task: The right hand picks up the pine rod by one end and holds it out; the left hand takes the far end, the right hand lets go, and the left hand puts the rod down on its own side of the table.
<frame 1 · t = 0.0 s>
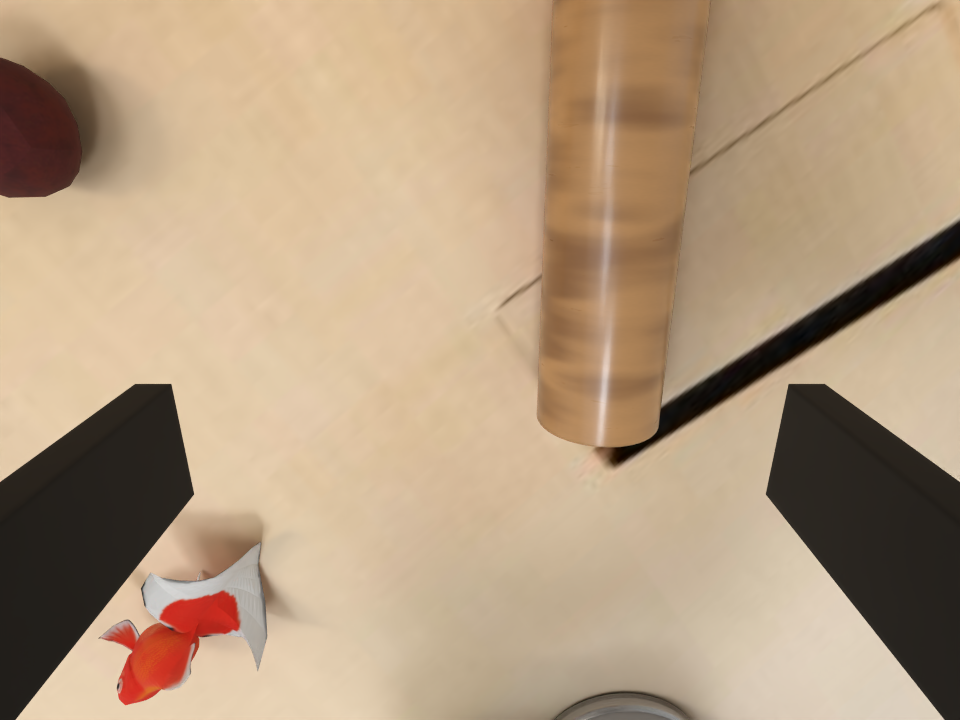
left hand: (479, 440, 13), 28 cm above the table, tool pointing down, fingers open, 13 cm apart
dark maroon ball: (49, 131, 37), on the table
rod: (599, 207, 38), on the table
fish: (211, 583, 49), on the table
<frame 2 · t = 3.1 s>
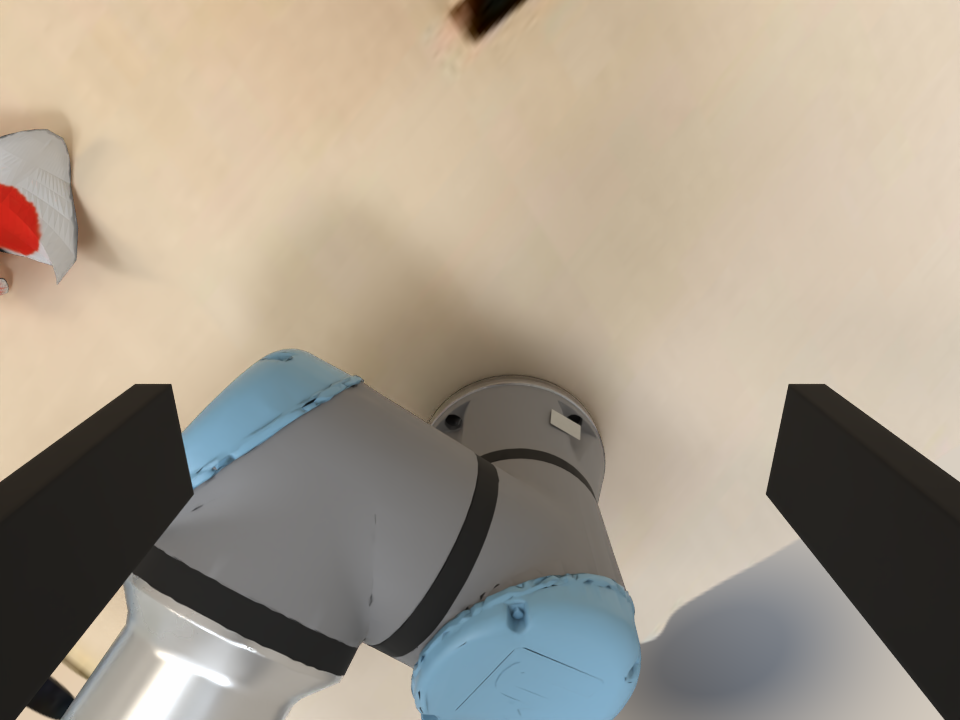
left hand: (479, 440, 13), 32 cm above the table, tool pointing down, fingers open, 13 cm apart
fish: (20, 216, 43), on the table
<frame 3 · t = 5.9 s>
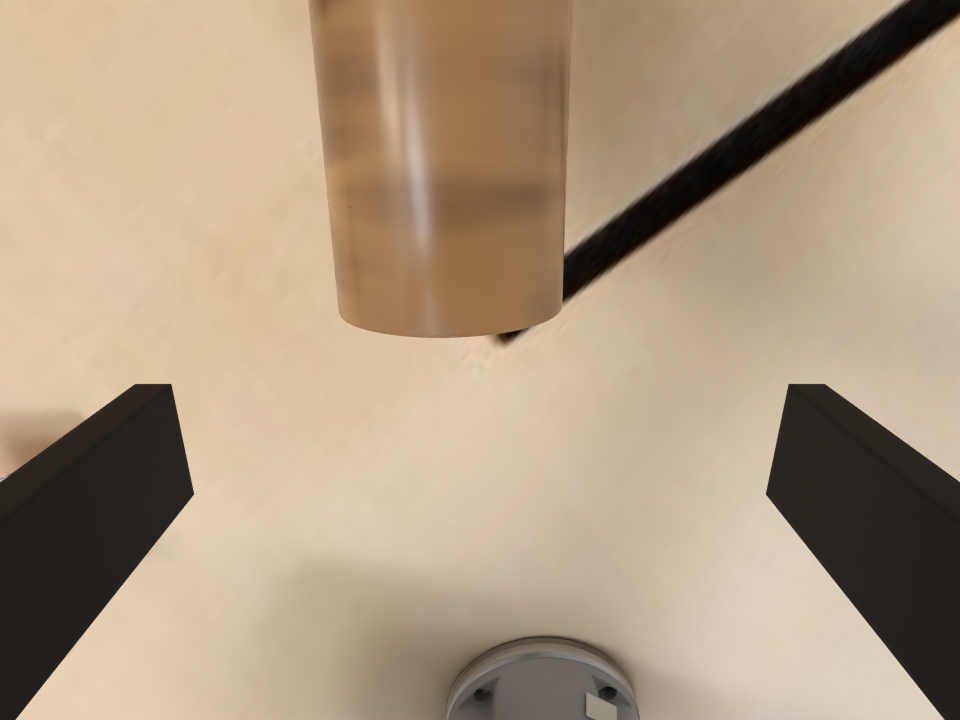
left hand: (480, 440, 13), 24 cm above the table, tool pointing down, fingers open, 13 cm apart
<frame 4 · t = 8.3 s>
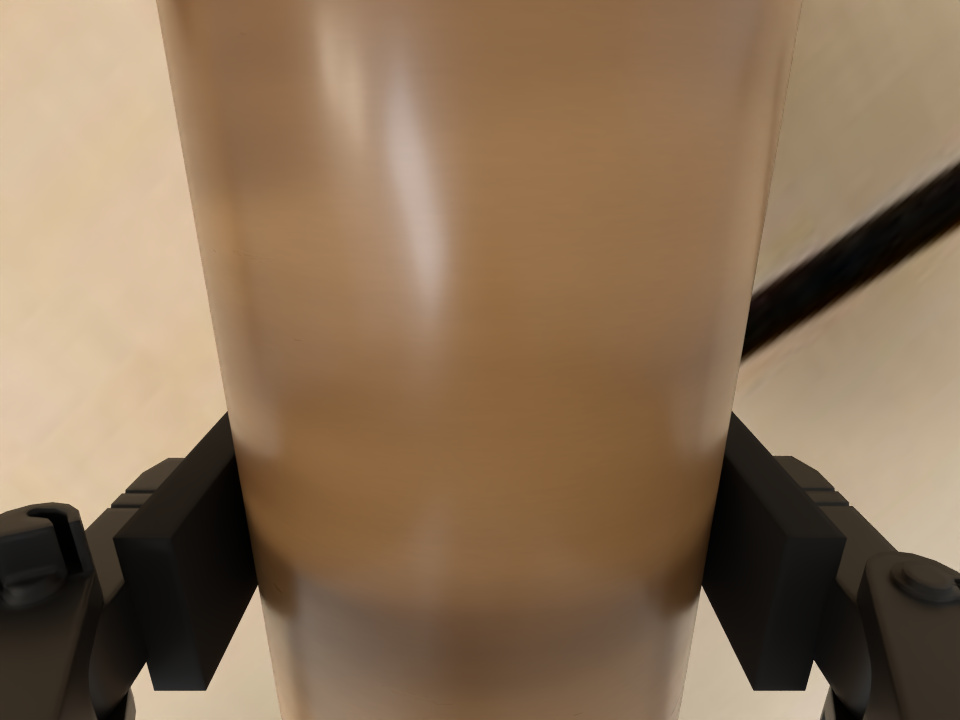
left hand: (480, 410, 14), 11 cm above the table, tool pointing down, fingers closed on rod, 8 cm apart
when the right hand's fingers open (11 cm above the table, at t = 9.2 s): rod stays where it is, held by the left hand.
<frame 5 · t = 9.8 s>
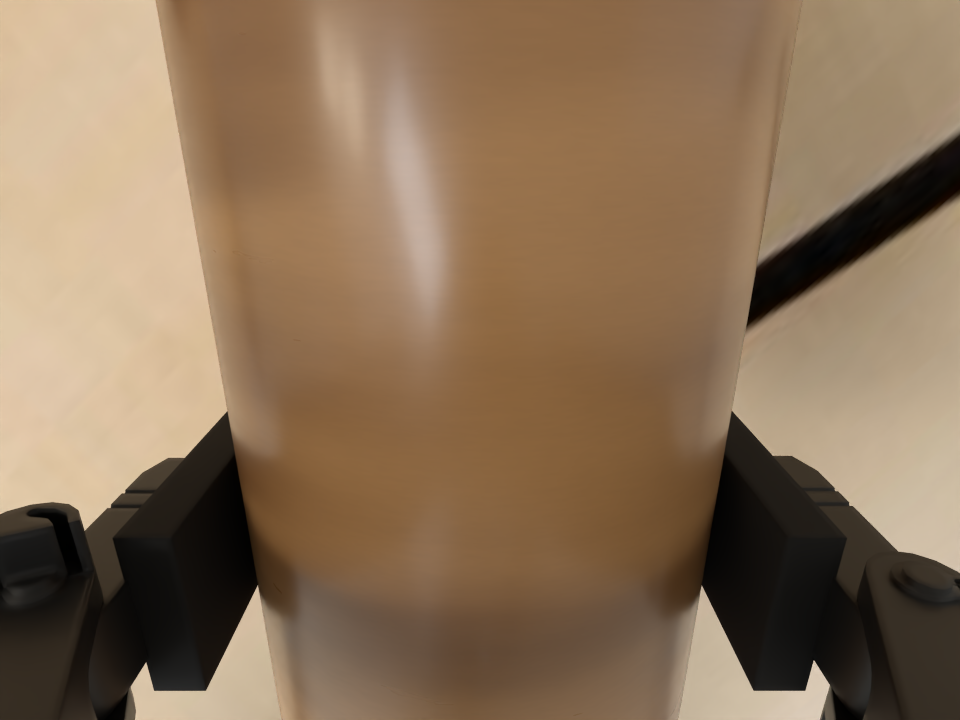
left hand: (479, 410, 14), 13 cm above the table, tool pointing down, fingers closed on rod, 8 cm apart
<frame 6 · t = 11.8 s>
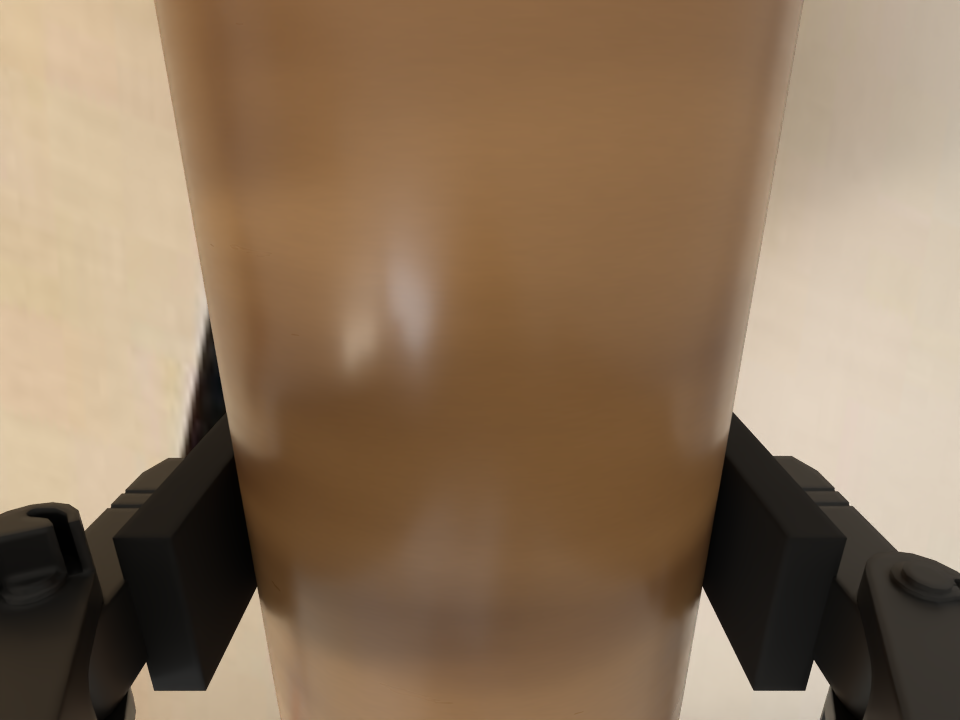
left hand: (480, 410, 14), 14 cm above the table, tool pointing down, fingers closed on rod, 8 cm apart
when the left hand's fingers open (2 cm above the table, at t = 13.2 s): rod drops 2 cm, on the table.
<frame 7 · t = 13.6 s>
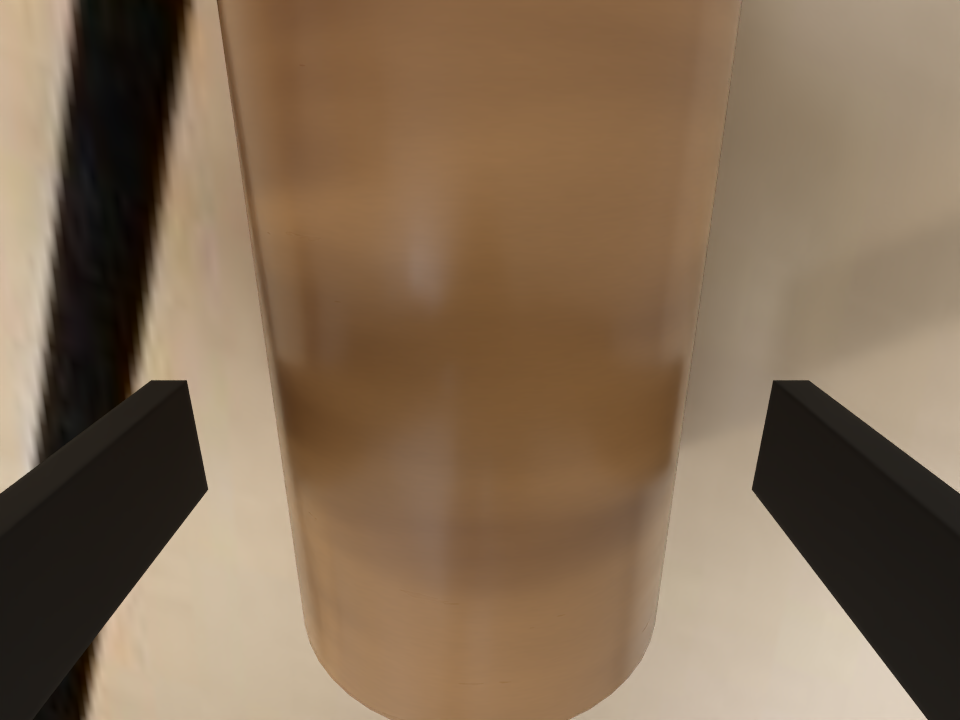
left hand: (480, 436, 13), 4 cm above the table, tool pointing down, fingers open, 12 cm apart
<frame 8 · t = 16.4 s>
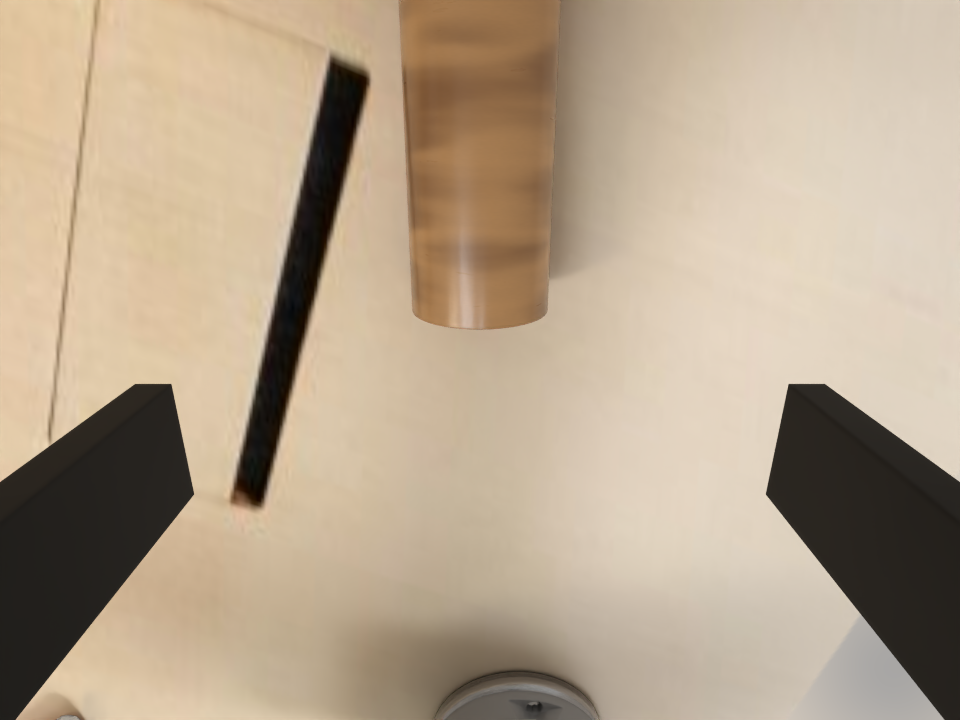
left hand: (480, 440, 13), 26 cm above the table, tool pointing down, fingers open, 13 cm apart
rod: (479, 67, 34), on the table
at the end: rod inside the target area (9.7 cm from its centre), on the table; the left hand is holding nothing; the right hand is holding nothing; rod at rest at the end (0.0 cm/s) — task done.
